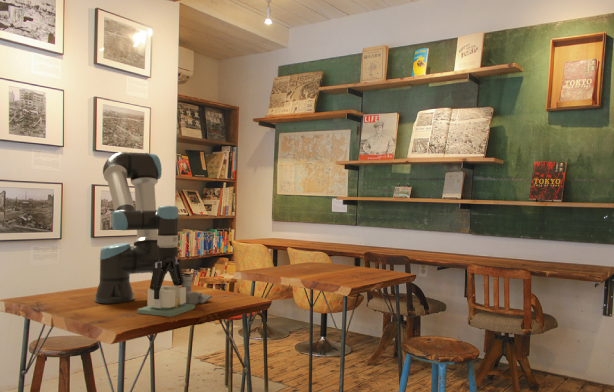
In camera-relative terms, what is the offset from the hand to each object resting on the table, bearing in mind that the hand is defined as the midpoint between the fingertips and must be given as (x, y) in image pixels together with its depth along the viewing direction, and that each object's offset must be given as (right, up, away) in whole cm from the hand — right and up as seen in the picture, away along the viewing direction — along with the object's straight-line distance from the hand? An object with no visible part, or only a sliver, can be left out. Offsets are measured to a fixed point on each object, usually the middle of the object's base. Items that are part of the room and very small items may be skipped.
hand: (166, 304), depth 189 cm
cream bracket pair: (0, 0, 0) cm, 0 cm away
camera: (+7, -3, +14) cm, 15 cm away
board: (0, -2, 0) cm, 2 cm away
